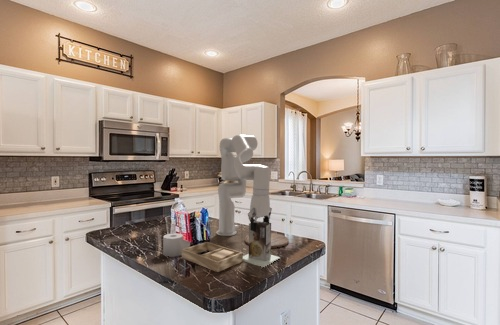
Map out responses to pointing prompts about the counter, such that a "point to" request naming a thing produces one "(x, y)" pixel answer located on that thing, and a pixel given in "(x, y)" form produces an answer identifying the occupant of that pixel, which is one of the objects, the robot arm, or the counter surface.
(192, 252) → the wooden tray
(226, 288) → the counter surface
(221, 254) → the offcut top
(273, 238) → the trivet
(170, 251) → the toilet tissue
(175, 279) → the counter surface
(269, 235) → the coffee box
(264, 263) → the pad
